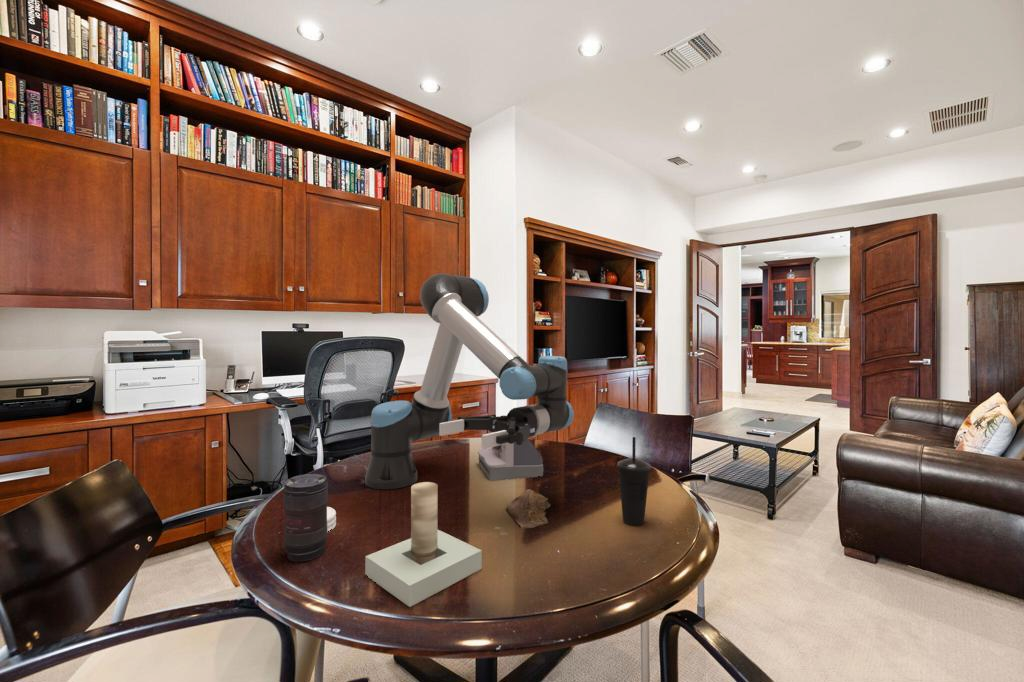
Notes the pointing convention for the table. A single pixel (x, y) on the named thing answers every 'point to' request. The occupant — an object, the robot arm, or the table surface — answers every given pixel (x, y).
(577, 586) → the table surface
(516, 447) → the instant camera
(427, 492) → the leg
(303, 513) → the camera lens
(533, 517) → the wooden fragment
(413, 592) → the board
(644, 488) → the drinking cup
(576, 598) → the table surface
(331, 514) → the coaster
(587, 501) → the table surface
